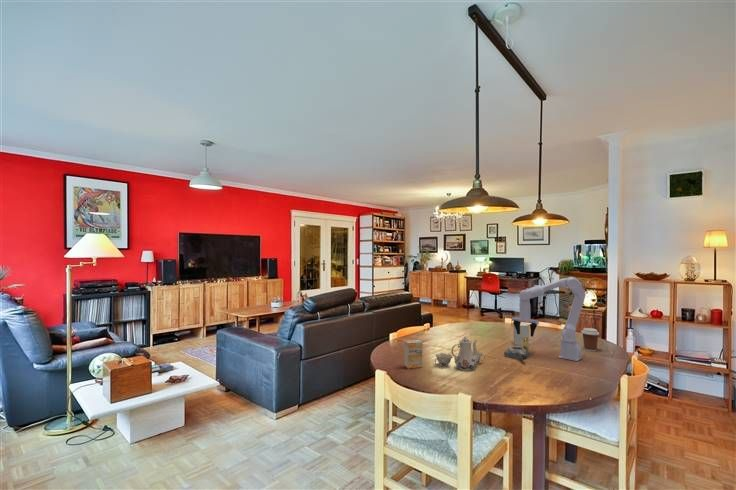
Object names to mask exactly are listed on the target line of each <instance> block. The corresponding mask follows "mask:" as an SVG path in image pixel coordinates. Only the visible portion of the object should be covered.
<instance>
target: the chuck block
mask: <svg viewBox="0 0 736 490" xmlns="http://www.w3.org/2000/svg"><path fill="white" fill-rule="evenodd" d="M503 355H504V356H503V357H505V358H509V359H510V358H511V359H515V360H520V361H524V360H525V359H523V358H521V357H520V356H519V355H518V354H517V353H511V352H510V351H509V350H506V351H504V354H503ZM525 355H526V356H527V358H530V356H531V352H530V351H529V352H527V351H526V354H525Z"/></svg>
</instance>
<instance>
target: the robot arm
mask: <svg viewBox="0 0 736 490" xmlns="http://www.w3.org/2000/svg"><path fill="white" fill-rule="evenodd" d="M557 288H565V289H566V288H568V289H569V290H570V291H571V292H572V294H573V295H574V298H573V300H572V304H571V307H570V310H569V314H568V317H567V320H566V322H565V325H564V327H563V328H562V329H561V331H560V334H561V339H560V355H559V356H558V358H559V359H565V360H570V361H575V362H578V361H579V360H581V359H582V344H581V343H580V342H577V341H576V337H577V336H576V332H577V331H576V330H577V324H578V321H579V318H580V315H581V312H582V308H583V305H584V302H585V299H586V291H585V290H584V287H583V284H582V282H580V280H578V278H576V277H574V276H568V277H566V278H565V277H564V278H561V279H558V280H555V281H553V282H550V283H548V284H545V285H540V284H538V285H537V284H534V285H533V286H531V287H530V288H528V287H527V288H525V289H522V290H521V291H520V292H519V295H518V297H519V317H511V322H512V325H513V324H514V326H515V328H516V331H517V334H520V323H525V324H529V330H530V337H532V338H533V337H534V334H535V331H536V329H537V327H538V325H539V324H540V320H538V319H533V318H531V303H530V300H531V299H534V298H537V297H540V296H542V295H544V294H545V292H547V291H551V290H554V289H557Z"/></svg>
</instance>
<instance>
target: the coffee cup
mask: <svg viewBox="0 0 736 490" xmlns="http://www.w3.org/2000/svg"><path fill="white" fill-rule="evenodd" d="M580 333H581V334H582V340H583V341H582V342H583V349H584V350H585V351H588V352H597V351H598V340H599V339H598V338H599V335H600V332H598V330H597V329H596V328H593V327H584V328H583V330H581V332H580Z"/></svg>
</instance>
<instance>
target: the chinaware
mask: <svg viewBox="0 0 736 490" xmlns="http://www.w3.org/2000/svg"><path fill="white" fill-rule="evenodd" d="M477 341H478V340H477V339H475V340H474V341H472V340H469V339H468V337H467V336H466V335H464V337H463V338H462V339H461V340H458V342H459V343H455V344H454V345H453V346H452V347H451V353H448V354H446V353H445V352H443V353H439V354H438V353H436V354H435V357H436V358H435V359H434V364H435V365H437V366H440V367H443V366H446V367H448V365H449V364H450V363H451V360H452V359H453V358H454V364H455V365H456V366H457V367H456V368H457V369H458V370H460V371H464V372H465V371H466V372H471V371H474V370H475V368H476V367H477V365H478V363H480V362H481V361H484V360H485V359H486V356H485V355H484V354H483V352H480V351H478V348H477ZM455 347H457V348H458V349H459V350H458V351H459V352H458V354H457V355H455V354H454V348H455ZM472 348H473V350H472ZM481 357H483V359H481ZM436 362H438V363H436ZM441 365H442V366H441Z"/></svg>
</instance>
